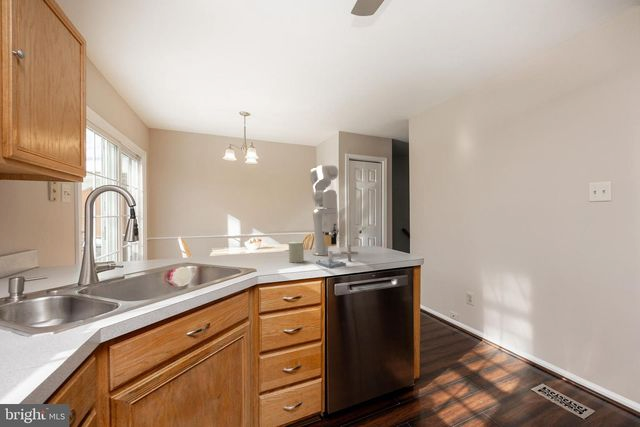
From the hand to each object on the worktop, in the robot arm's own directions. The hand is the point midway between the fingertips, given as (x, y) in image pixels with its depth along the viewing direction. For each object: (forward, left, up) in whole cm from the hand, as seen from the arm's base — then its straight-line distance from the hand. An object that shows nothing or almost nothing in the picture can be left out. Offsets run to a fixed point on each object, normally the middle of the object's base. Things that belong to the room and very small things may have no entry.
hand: (330, 243), depth 153 cm
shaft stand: (0, 0, -12) cm, 12 cm away
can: (-21, -11, -12) cm, 27 cm away
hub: (0, 0, -1) cm, 1 cm away
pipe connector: (-2, +15, -12) cm, 20 cm away
